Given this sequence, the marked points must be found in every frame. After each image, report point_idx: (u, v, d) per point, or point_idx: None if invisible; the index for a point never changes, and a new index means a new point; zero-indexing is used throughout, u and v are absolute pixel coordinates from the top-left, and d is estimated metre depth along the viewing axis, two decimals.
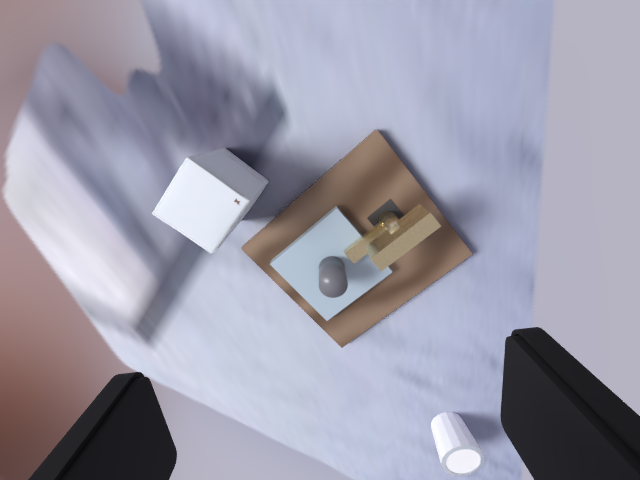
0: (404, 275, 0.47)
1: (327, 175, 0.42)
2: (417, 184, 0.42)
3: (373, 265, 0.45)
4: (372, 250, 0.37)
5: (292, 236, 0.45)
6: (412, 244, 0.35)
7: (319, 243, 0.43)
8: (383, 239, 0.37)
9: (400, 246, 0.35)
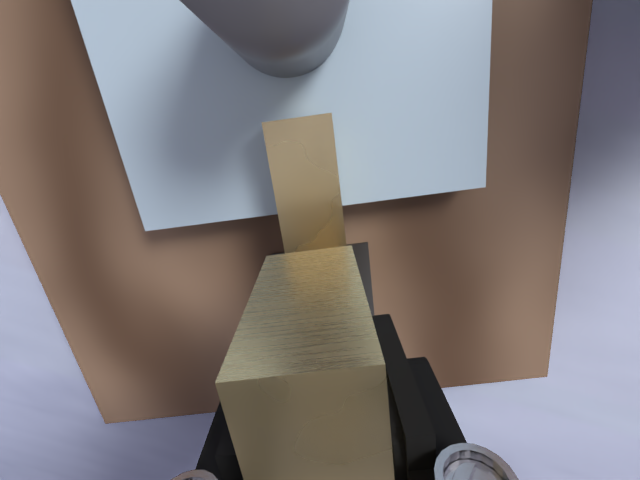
0: (115, 244, 0.13)
1: (562, 210, 0.13)
2: None
3: (204, 182, 0.11)
4: None
5: None
6: None
7: (416, 33, 0.10)
8: None
9: None
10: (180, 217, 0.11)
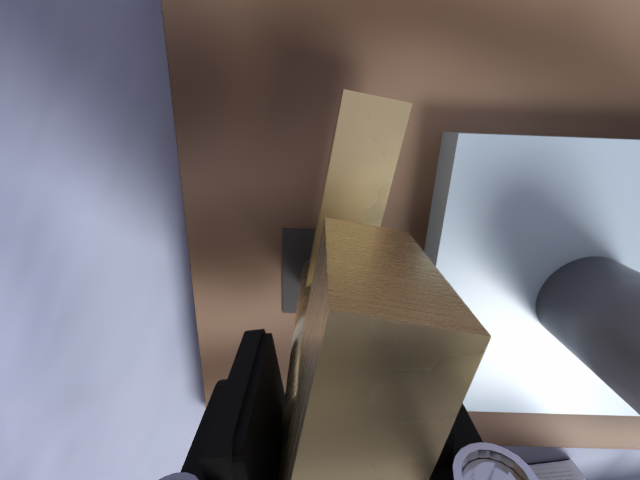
0: (432, 62, 0.11)
1: None
2: (197, 292, 0.14)
3: (485, 208, 0.12)
4: None
5: None
6: None
7: (529, 374, 0.14)
8: None
9: None
10: (460, 175, 0.11)
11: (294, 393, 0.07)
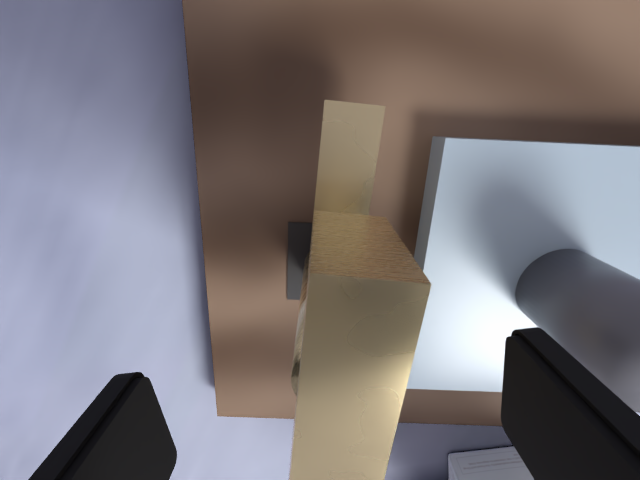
0: (423, 75, 0.13)
1: None
2: (209, 280, 0.16)
3: (469, 205, 0.13)
4: None
5: None
6: (305, 466, 0.07)
7: None
8: None
9: (345, 431, 0.06)
10: (447, 175, 0.13)
11: (299, 356, 0.08)
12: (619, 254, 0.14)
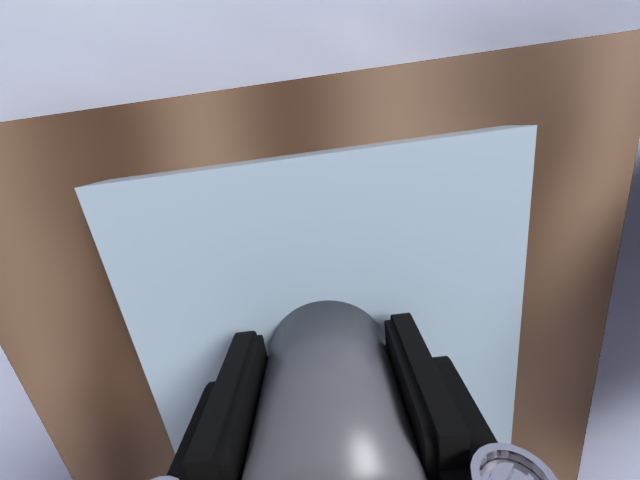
0: (158, 476, 0.14)
1: (577, 451, 0.14)
2: None
3: None
4: None
5: None
6: None
7: None
8: None
9: None
10: None
11: None
12: (264, 295, 0.10)
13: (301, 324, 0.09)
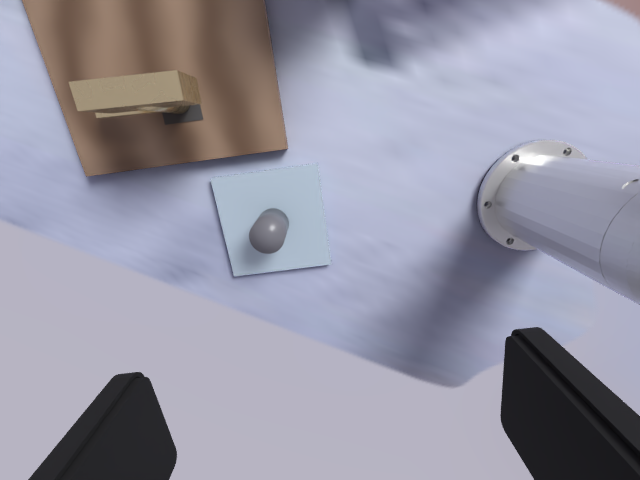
0: (88, 77, 0.32)
1: (270, 61, 0.32)
2: (204, 158, 0.35)
3: (252, 263, 0.39)
4: None
5: None
6: (135, 100, 0.24)
7: (307, 228, 0.38)
8: None
9: (118, 91, 0.24)
10: (244, 272, 0.40)
11: (137, 108, 0.26)
12: (255, 207, 0.37)
13: (264, 211, 0.36)
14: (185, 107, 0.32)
